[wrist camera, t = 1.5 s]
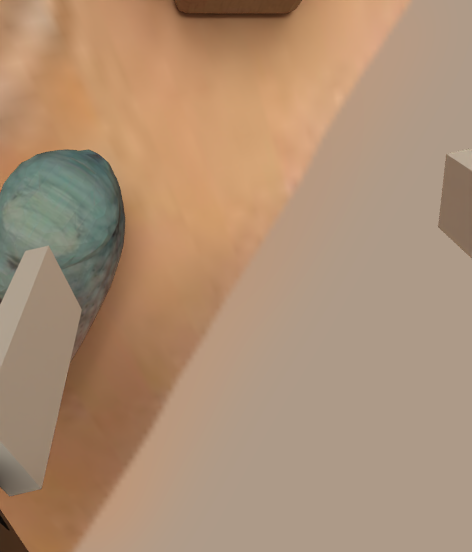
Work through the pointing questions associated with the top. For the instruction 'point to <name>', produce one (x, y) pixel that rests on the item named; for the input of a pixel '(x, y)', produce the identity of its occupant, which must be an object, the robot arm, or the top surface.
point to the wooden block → (237, 6)
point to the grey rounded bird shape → (65, 223)
